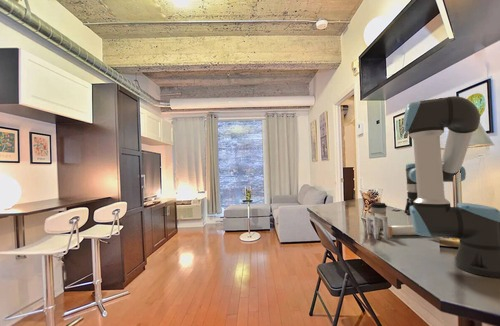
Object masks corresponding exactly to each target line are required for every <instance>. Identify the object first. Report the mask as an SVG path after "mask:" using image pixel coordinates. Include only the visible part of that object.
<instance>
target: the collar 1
mask: <svg viewBox="0 0 500 326" xmlns="http://www.w3.org/2000/svg"><path fill="white" fill-rule="evenodd" d="M371 220H372V225H373V238H374V239H375V240H378V239H379V234H378V220H377V217H376V216H374V215H372V213H370V212H366V213H365V224H366V226H365V227H366V233H367V234H368V235H371V234H372V229H371V228H372V227H371Z"/></svg>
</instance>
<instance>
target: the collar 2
mask: <svg viewBox="0 0 500 326" xmlns="http://www.w3.org/2000/svg"><path fill="white" fill-rule="evenodd" d="M375 216H376V217H377V220H378V235H379V234H381V229H380V223H379V218H380V219H382V220H383V229H382V230H383V231H382V232H383V239H385V240H386V239H387V240H388V239H389V238H390V237H389V236H388V225H389V224H388V216H387V215H386V216H384V215H382V214H379V213H375Z"/></svg>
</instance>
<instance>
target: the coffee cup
mask: <svg viewBox="0 0 500 326" xmlns="http://www.w3.org/2000/svg"><path fill="white" fill-rule="evenodd" d="M369 207H370V209H371V214H372V215H374V216H375V213H379V214H382V215H384V216H386V217H387V207H388V206H387V204H386V203H385V202H371V203H370V205H369ZM379 223H380V230H383V220H382V219H380V218H379Z"/></svg>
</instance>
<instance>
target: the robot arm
mask: <svg viewBox="0 0 500 326" xmlns="http://www.w3.org/2000/svg"><path fill="white" fill-rule="evenodd" d="M480 123H481V115H480V111H479V109H478V107H477V106H476V105H475V104H474V103H473V102H472V101H471V100H469V99H467V98H465V97H462V96H456V95H453V96H447V97H440V98H432V99H425V100H418V101H413V102H410V103H408V104H406V107H405V111H404V117H403V131H404V132H405V133H407V132H408V137H410V138H411V139H412V141H413V154H414V163H411V162H410V163H407V164H405V174H406V175H405V176H406V190H407V192H406V193H407V194H406V195H407V198H406V204H405V208H404V214H406V217H407V219H406V220H407V225H413V227H414V230H415V232H416V233H417V234H418V235H417V236H423V237H429V238H445V239H459V246H458V248H457V252H456V255H455V257H454V264H455V266H456V267H457V268H459V269H461V270H463V271H466V272H468V273H470V274H474V275H478V274H479V276H482V275H484V276H483V277H488V276H490V277H489V278H496V277H500V210H499V209H498V208H496V207H492V206H488V205H483V204H477V203H468V202H457V204H456V206H451V202H450V201H449V200H448V199H447V198H446V196H445V186H444V185H445V184H444V183H449V182H451V183H454V182H453V176H454V175H456V174H457V173H458V172H459V170H460V173H461V181H460V182H463V181H465V180H466V174H467V173H466V169H465V167H464V166H463V163H464V160H465V157H466V155H467V152H468V148H469V145H470V142H471V139H472V136H473V133H474V132H476V131H477V130H478V129H479V125H480ZM445 128H446V129H448V133H447V137H446V140H445V145H444V149H443V154H442V150H441V149H442V148H441V136H442V135H443V134H444V133H445Z"/></svg>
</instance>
